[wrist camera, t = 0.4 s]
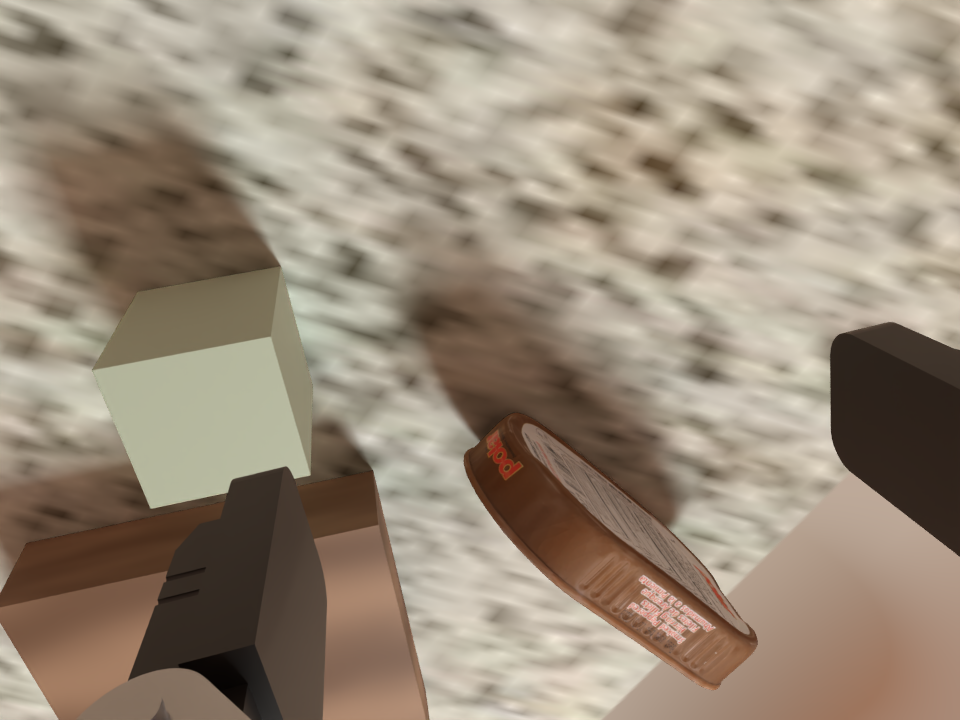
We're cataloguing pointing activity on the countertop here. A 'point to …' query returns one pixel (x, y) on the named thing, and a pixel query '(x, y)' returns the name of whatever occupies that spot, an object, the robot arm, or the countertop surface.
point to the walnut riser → (142, 571)
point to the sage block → (209, 385)
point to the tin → (607, 550)
